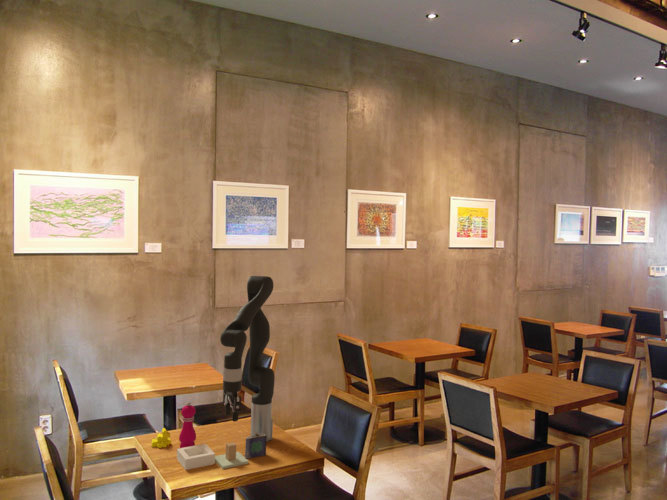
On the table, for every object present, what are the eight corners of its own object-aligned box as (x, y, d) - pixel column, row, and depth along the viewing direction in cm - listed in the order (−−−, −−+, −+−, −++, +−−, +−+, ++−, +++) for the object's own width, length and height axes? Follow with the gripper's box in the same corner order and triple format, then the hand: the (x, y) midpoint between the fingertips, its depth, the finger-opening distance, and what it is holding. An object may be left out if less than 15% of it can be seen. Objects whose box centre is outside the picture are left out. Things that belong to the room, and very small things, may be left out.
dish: (205, 454, 218) (205, 443, 218) (214, 464, 208) (215, 453, 208) (176, 459, 211) (177, 448, 211) (185, 471, 201) (185, 459, 201)
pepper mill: (191, 451, 220) (192, 405, 220) (175, 449, 221) (176, 403, 221) (198, 445, 227) (200, 400, 227) (183, 443, 228) (185, 398, 228)
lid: (238, 453, 218) (238, 437, 218) (248, 463, 209) (248, 446, 209) (213, 458, 212) (213, 441, 212) (222, 469, 203) (222, 451, 203)
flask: (246, 460, 213) (247, 434, 213) (243, 457, 216) (244, 432, 216) (266, 456, 218) (267, 431, 218) (264, 453, 220) (264, 428, 220)
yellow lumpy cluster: (151, 444, 227) (151, 426, 227) (169, 441, 231) (170, 424, 230) (152, 449, 222) (153, 431, 222) (171, 446, 225) (172, 428, 225)
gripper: (247, 381, 206) (246, 421, 207) (234, 373, 219) (233, 411, 219) (229, 383, 203) (228, 424, 203) (217, 375, 215) (216, 414, 215)
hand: (231, 417), depth 211 cm, fingers open, 8 cm apart
